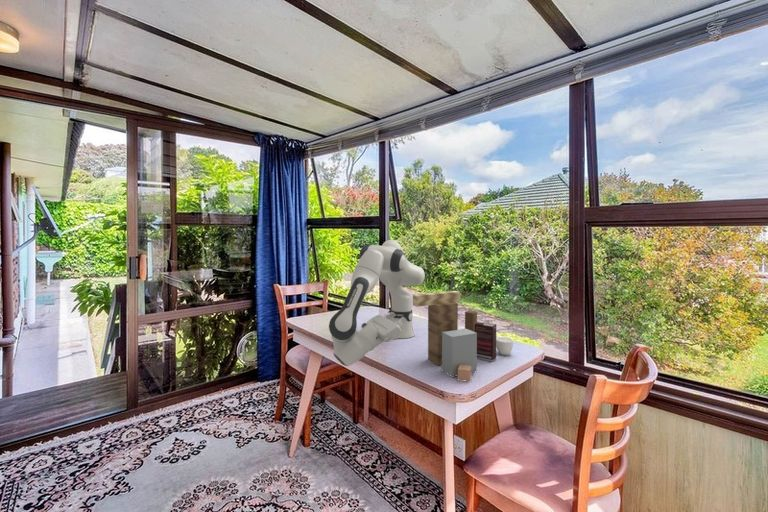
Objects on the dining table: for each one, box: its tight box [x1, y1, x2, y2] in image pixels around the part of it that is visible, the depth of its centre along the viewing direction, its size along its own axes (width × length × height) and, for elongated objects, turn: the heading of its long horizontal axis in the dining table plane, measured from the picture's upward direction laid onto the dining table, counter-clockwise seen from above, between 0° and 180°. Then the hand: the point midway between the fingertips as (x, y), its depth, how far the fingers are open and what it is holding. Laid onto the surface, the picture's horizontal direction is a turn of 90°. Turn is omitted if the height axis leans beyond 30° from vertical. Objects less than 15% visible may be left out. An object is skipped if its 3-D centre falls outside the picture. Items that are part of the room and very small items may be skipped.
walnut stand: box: [427, 302, 459, 367], centre depth 145 cm, size 10×8×26 cm
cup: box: [496, 336, 514, 356], centre depth 155 cm, size 8×10×7 cm
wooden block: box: [464, 310, 478, 332], centre depth 161 cm, size 9×4×18 cm, turn 137°
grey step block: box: [441, 328, 478, 377], centre depth 135 cm, size 12×7×16 cm, turn 114°
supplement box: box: [475, 321, 497, 362], centre depth 148 cm, size 9×5×16 cm, turn 52°
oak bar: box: [412, 290, 461, 308], centre depth 143 cm, size 22×4×4 cm, turn 114°
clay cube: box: [457, 365, 472, 382], centre depth 128 cm, size 4×4×4 cm
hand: (399, 315), depth 136 cm, fingers open, 8 cm apart
